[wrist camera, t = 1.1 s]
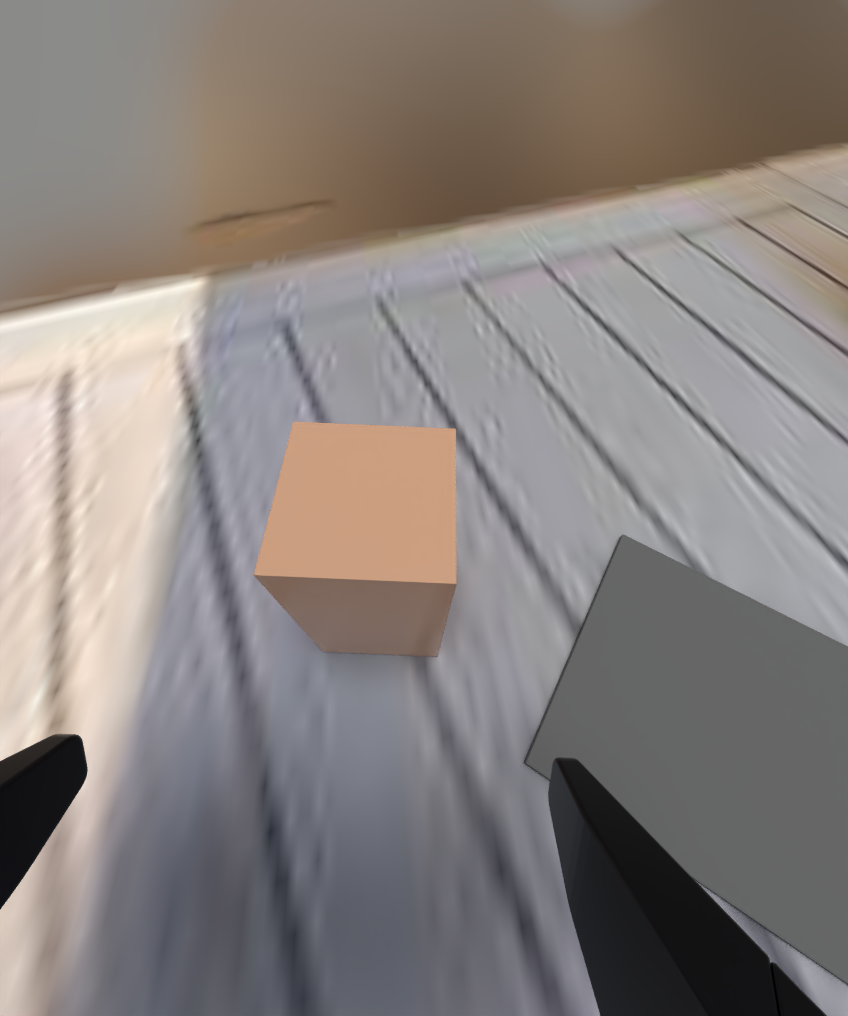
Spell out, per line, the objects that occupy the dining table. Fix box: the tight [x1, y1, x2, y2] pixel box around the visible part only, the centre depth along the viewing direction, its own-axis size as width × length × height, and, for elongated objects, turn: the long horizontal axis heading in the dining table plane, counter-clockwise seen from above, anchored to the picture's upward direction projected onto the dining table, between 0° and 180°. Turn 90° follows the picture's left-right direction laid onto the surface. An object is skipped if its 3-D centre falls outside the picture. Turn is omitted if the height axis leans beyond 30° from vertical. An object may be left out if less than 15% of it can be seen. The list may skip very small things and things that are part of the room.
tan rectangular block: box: [254, 422, 456, 657], centre depth 19 cm, size 6×6×11 cm
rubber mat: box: [524, 535, 848, 985], centre depth 21 cm, size 14×14×1 cm
